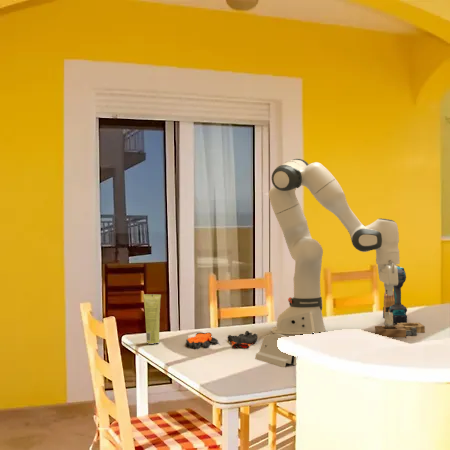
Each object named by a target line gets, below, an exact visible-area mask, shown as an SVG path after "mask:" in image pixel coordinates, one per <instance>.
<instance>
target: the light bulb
mask: <svg viewBox="0 0 450 450" xmlns="http://www.w3.org/2000/svg"><path fill="white" fill-rule="evenodd" d="M384 317H385V318H384V326H385V329H393V326H394V324H393V313H392V312H385V313H384Z"/></svg>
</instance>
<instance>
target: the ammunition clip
mask: <svg viewBox="0 0 450 450" xmlns="http://www.w3.org/2000/svg"><path fill="white" fill-rule="evenodd" d="M383 294H384V295H383V307H382V315H383V316H382V319H385V317H384V313H385V312H390V311H389V308H390V306H392V305H394V304H395V299H394V291H393V295H392V296H389V295H388V294H385V292H384V293H383Z"/></svg>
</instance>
